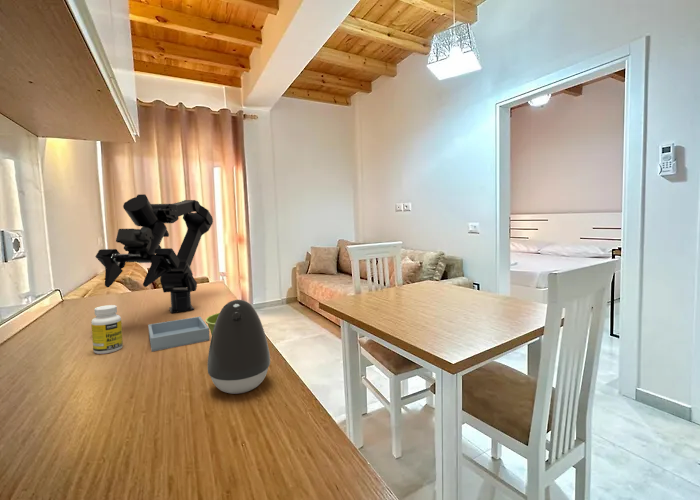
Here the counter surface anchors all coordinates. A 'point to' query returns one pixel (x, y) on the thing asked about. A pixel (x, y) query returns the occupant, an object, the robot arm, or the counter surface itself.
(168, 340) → the tray
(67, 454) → the counter surface
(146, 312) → the counter surface
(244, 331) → the dark grey egg-shaped device
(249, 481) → the counter surface
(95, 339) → the supplement bottle
